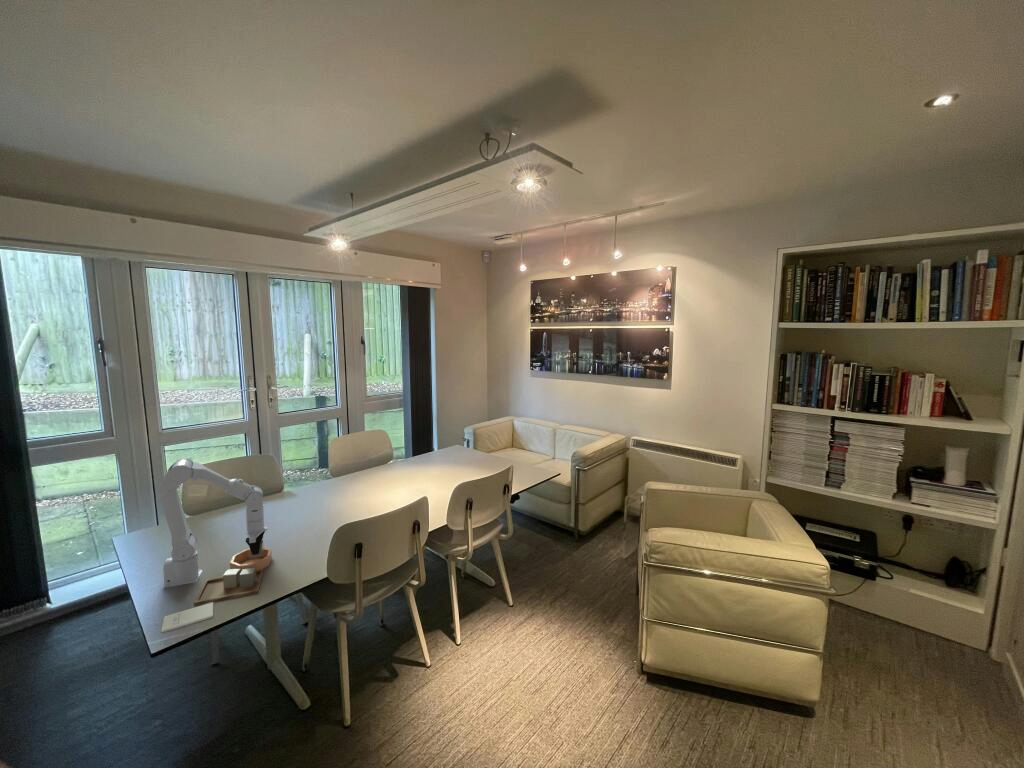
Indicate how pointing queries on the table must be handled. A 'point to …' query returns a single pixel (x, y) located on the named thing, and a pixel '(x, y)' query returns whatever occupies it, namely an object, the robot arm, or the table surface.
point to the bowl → (250, 560)
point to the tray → (225, 590)
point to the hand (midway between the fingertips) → (256, 551)
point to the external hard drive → (187, 617)
